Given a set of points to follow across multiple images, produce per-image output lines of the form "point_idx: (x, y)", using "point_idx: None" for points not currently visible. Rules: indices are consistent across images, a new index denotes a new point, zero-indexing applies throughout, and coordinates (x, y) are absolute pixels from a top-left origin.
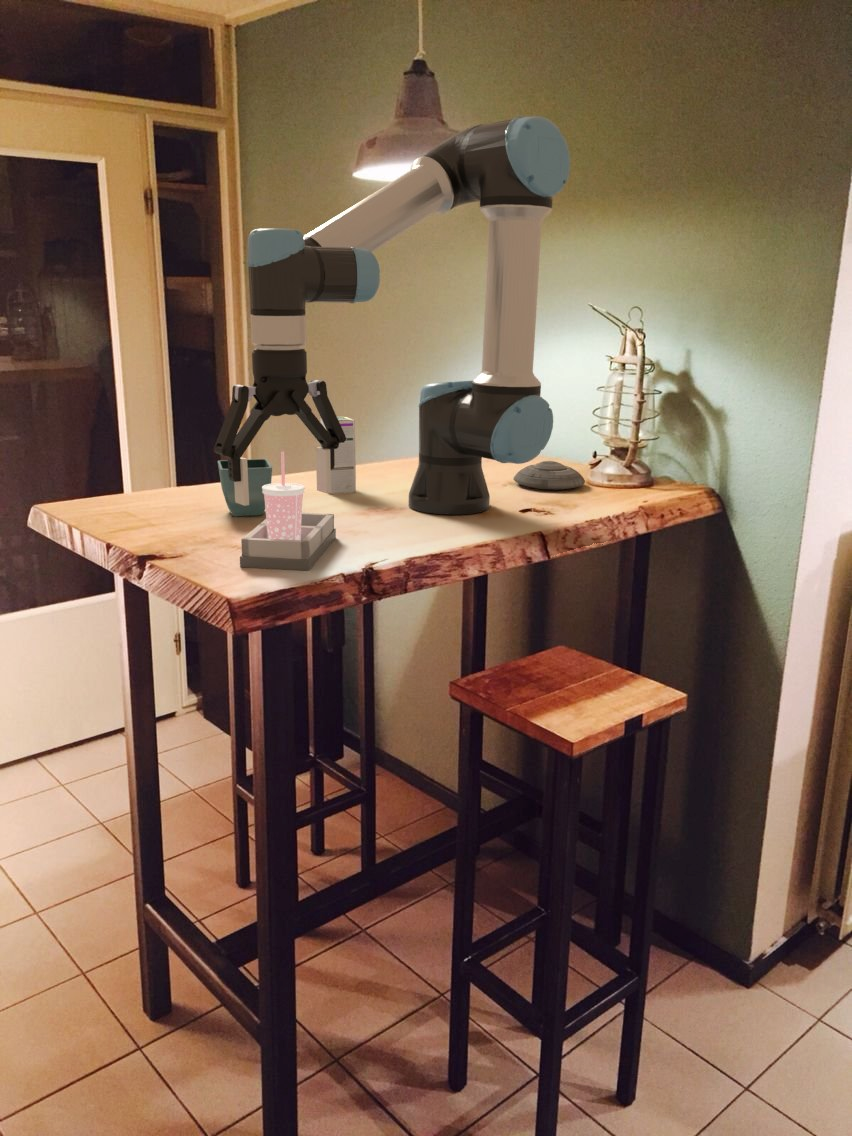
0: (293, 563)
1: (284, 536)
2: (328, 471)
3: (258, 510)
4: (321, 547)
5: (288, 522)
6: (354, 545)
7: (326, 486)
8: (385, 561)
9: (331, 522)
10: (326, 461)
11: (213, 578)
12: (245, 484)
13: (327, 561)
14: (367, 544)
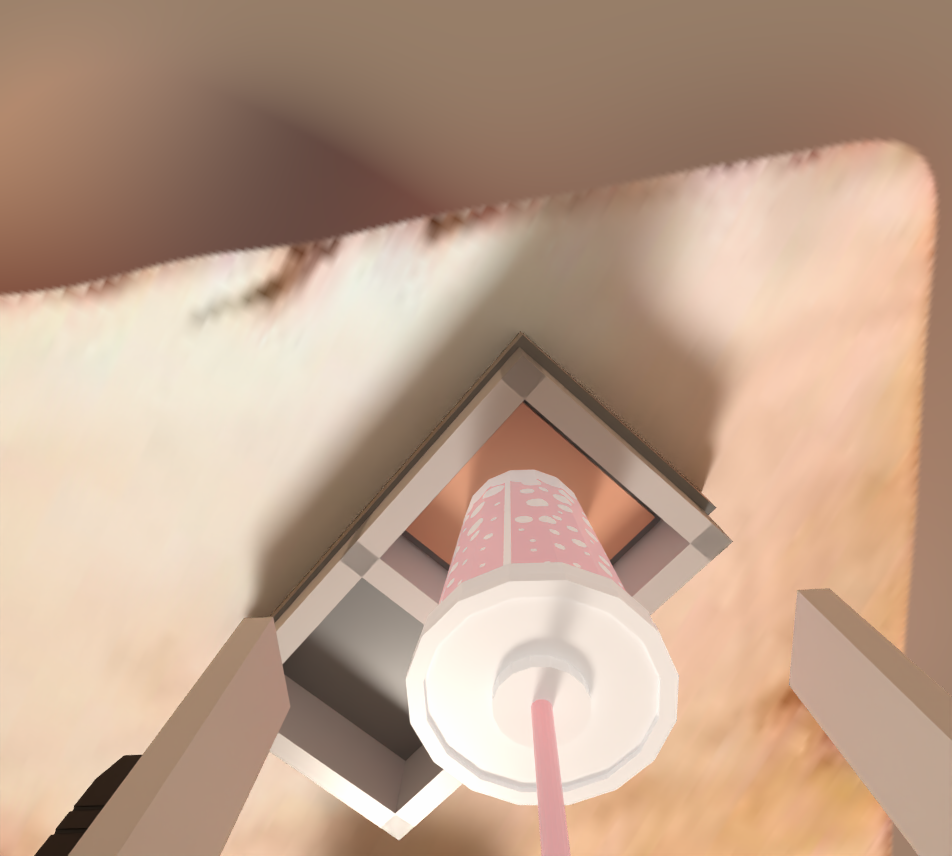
0: (565, 372)
1: (558, 495)
2: (187, 719)
3: None
4: (380, 494)
5: (549, 510)
6: (225, 535)
7: (256, 644)
8: (211, 294)
9: None
10: (155, 789)
11: (847, 418)
12: (911, 675)
13: (404, 405)
14: (177, 524)
